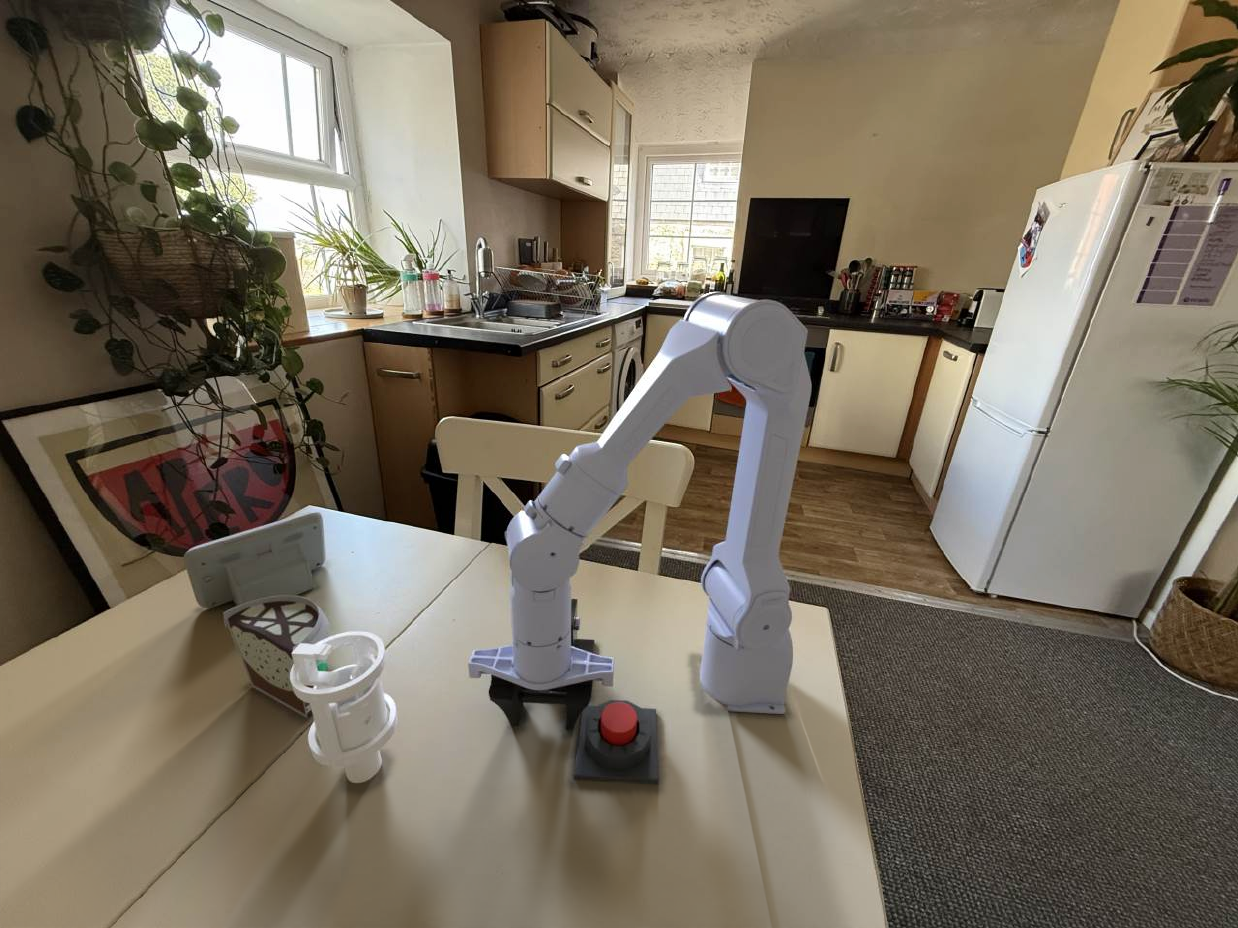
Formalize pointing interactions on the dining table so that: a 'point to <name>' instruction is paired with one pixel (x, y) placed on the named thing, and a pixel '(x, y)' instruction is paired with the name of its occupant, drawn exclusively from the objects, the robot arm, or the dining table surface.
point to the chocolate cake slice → (276, 642)
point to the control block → (617, 749)
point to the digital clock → (258, 562)
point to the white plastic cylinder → (346, 704)
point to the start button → (618, 723)
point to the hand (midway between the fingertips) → (543, 726)
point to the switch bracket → (574, 641)
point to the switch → (543, 697)
